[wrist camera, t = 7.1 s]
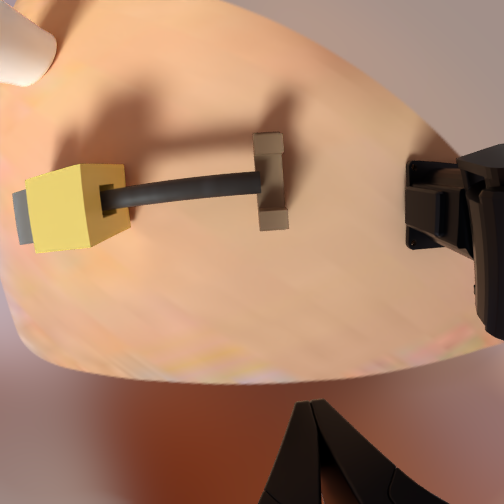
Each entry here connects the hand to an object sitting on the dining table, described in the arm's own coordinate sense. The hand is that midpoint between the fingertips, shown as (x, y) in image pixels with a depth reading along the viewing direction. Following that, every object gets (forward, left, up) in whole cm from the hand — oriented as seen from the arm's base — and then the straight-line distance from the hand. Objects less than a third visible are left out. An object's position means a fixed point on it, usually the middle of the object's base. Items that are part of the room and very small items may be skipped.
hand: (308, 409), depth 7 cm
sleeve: (+12, -6, -13) cm, 18 cm away
